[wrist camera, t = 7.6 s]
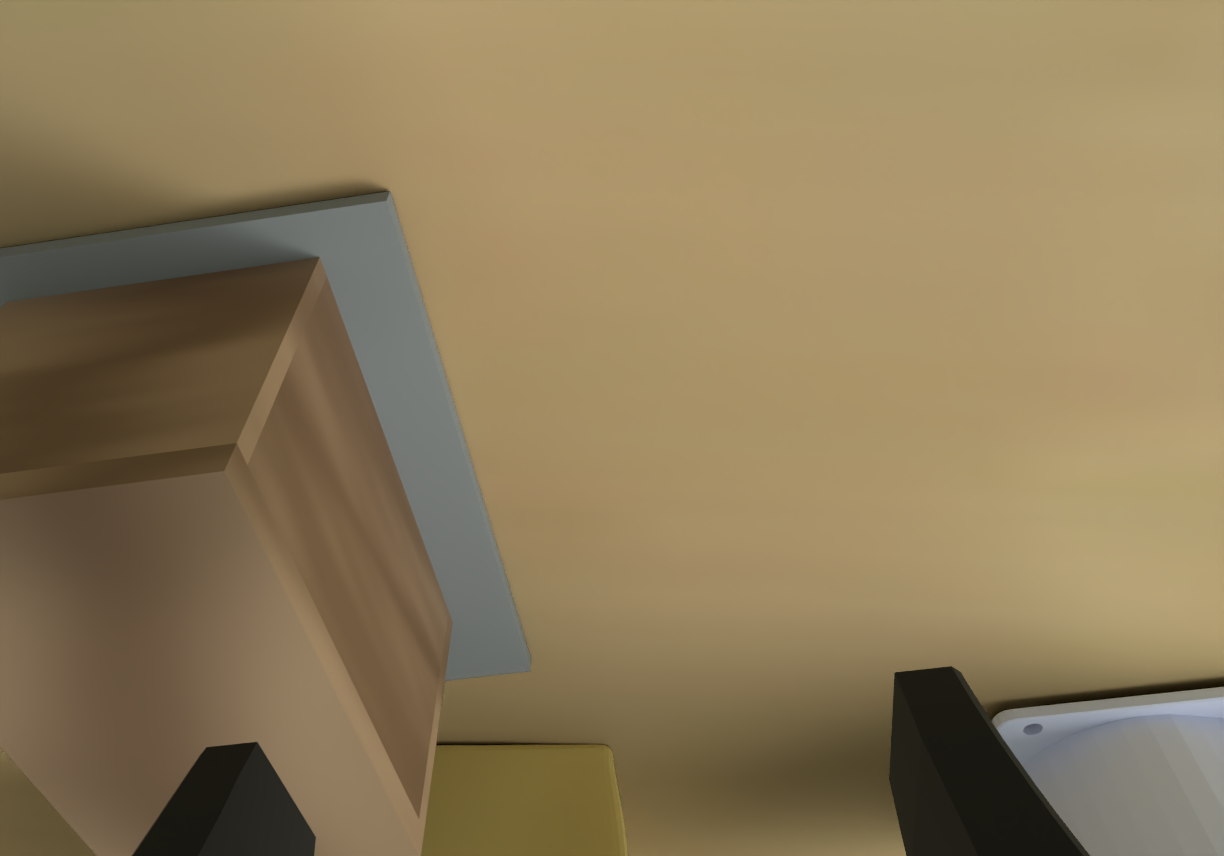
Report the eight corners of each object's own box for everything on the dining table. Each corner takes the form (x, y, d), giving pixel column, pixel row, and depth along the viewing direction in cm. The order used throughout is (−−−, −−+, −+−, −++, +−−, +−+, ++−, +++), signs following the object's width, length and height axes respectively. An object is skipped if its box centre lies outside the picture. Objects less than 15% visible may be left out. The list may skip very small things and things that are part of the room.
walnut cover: (319, 257, 18) (224, 470, 13) (452, 622, 24) (420, 859, 19) (5, 302, 18) (-198, 525, 14) (214, 650, 24) (125, 888, 20)
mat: (389, 191, 18) (386, 201, 17) (530, 658, 25) (530, 671, 25) (-86, 261, 18) (-98, 271, 18) (195, 696, 26) (190, 709, 26)
